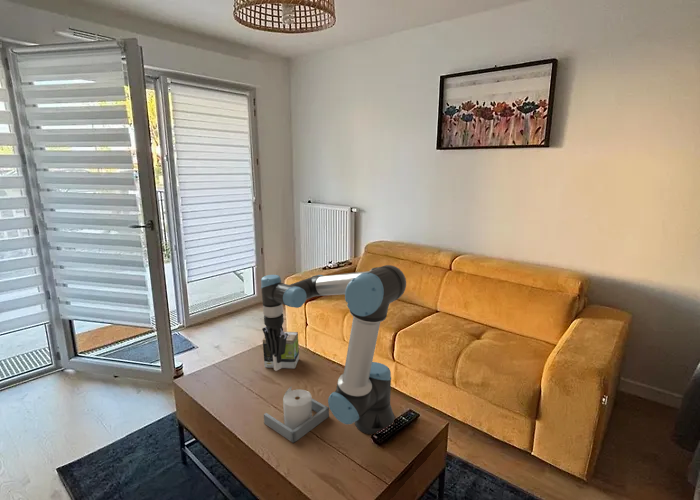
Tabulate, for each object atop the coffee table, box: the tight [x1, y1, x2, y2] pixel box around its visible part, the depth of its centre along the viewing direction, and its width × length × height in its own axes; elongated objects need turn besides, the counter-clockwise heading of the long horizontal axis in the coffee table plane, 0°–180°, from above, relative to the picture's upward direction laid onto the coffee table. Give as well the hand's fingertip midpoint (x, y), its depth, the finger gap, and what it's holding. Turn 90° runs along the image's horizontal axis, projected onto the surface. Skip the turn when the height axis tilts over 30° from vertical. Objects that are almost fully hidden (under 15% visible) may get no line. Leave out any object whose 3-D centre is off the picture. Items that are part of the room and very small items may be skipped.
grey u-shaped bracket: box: [263, 398, 330, 444], centre depth 148 cm, size 16×18×4 cm
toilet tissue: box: [282, 386, 313, 430], centre depth 147 cm, size 11×12×10 cm
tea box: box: [262, 331, 300, 369], centre depth 187 cm, size 15×10×15 cm, turn 84°
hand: (277, 368), depth 157 cm, fingers closed
